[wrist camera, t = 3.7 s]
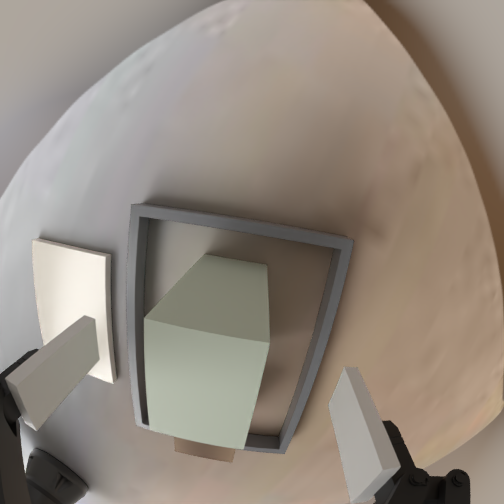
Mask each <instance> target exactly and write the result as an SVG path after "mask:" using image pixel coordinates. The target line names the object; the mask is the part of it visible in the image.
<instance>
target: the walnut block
mask: <svg viewBox="0 0 504 504" xmlns="http://www.w3.org/2000/svg"><path fill="white" fill-rule="evenodd" d="M174 444H175V451H176V452H180V453H185V454H189V455H193V456H198V457H203V458H208V459H214V460H219V461H226V462H233V458H234V453H235V449H234V448H227V447H221V446H215V445H210V444H205V443H200V442H195V441H191V440H186V439H182V438H178V437H174Z"/></svg>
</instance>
